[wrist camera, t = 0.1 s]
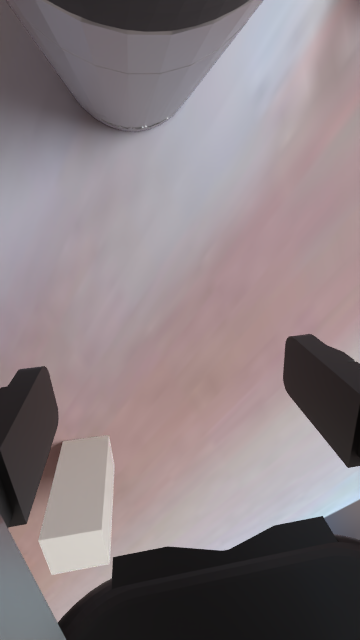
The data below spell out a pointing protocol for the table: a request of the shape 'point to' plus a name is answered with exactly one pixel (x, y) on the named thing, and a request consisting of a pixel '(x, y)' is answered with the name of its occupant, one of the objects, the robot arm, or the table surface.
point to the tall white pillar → (80, 507)
